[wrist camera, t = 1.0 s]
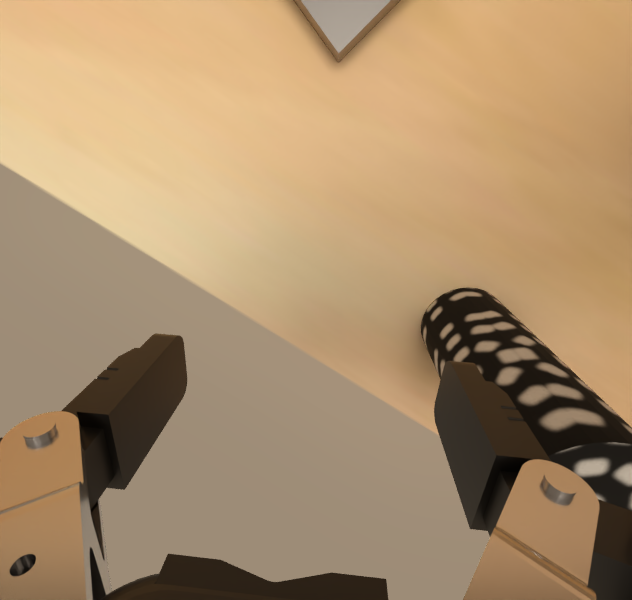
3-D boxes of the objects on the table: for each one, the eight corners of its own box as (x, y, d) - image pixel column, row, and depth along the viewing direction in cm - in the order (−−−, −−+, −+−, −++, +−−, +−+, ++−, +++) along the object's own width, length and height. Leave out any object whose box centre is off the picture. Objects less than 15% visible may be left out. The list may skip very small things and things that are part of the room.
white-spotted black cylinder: (459, 271, 35) (597, 414, 16) (522, 316, 36) (716, 492, 18) (404, 334, 38) (468, 514, 19) (465, 373, 39) (579, 575, 21)
